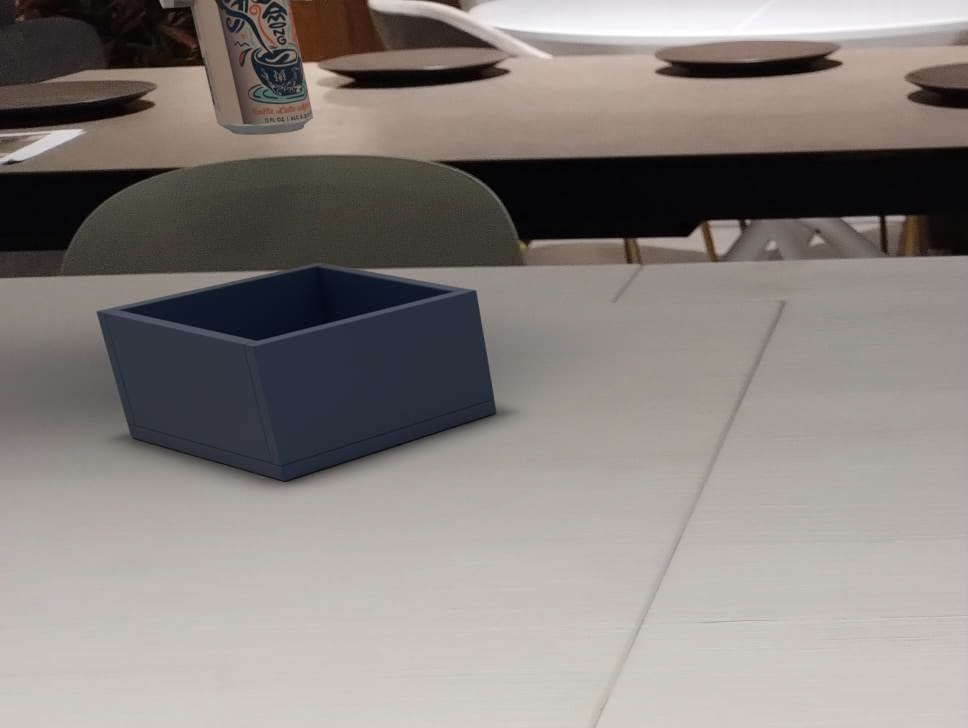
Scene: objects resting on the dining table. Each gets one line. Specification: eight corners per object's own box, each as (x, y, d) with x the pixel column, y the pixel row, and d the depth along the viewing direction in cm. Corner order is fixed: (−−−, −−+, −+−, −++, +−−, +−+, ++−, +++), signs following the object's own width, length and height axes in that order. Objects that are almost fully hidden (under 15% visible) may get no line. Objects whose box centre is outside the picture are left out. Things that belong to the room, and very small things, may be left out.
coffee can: (266, 138, 87) (209, -124, 81) (199, 133, 89) (139, -123, 83) (334, 126, 91) (285, -125, 85) (269, 121, 92) (217, -125, 87)
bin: (130, 437, 91) (95, 311, 87) (344, 377, 100) (319, 262, 97) (284, 481, 84) (253, 346, 81) (497, 412, 94) (476, 290, 90)
